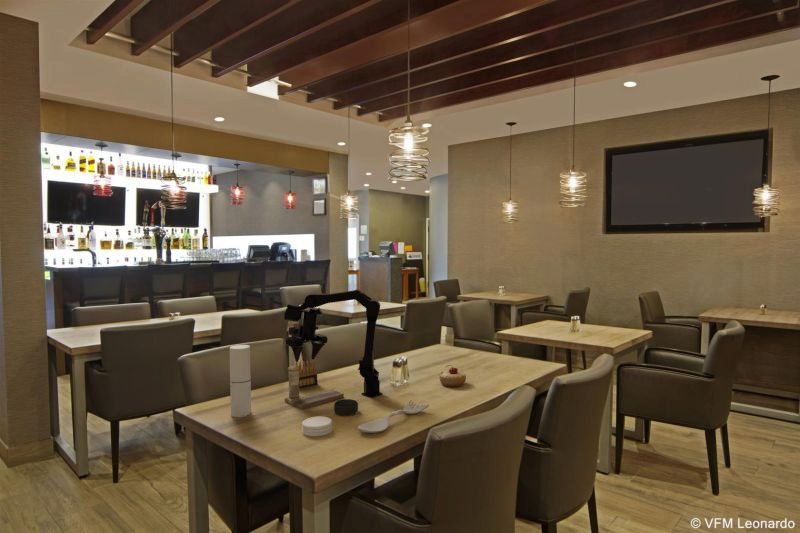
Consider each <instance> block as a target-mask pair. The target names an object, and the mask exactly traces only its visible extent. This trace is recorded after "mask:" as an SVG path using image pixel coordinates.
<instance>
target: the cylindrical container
mask: <svg viewBox="0 0 800 533" xmlns="http://www.w3.org/2000/svg"><path fill="white" fill-rule="evenodd" d="M251 379H252V378H251V345H248V344H236V345H235V344H234V345H232V346H230V347H229V382H230V383H229V386H230V387H229V388H230V416H231V417H232V418H243V417H247V415H248V416H249V415H251V413H252V391H251V390H252V386H251V383H252V382H251V381H252V380H251Z"/></svg>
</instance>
